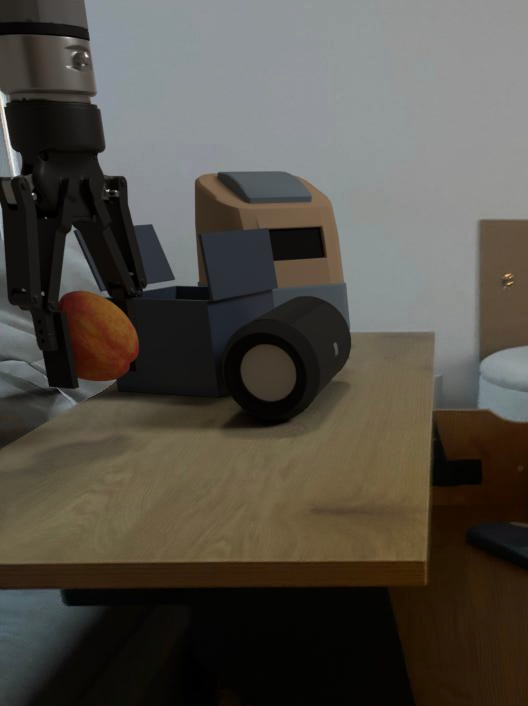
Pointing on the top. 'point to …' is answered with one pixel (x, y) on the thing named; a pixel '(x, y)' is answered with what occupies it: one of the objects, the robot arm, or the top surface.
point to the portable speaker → (286, 357)
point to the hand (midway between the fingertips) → (96, 378)
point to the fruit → (99, 336)
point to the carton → (202, 316)
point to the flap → (150, 254)
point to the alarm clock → (278, 229)
